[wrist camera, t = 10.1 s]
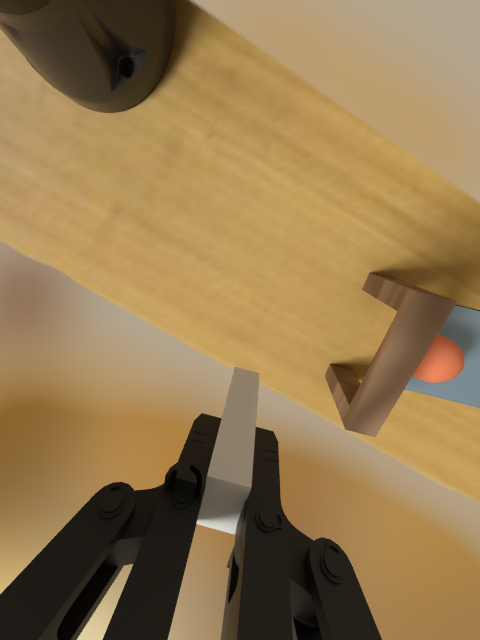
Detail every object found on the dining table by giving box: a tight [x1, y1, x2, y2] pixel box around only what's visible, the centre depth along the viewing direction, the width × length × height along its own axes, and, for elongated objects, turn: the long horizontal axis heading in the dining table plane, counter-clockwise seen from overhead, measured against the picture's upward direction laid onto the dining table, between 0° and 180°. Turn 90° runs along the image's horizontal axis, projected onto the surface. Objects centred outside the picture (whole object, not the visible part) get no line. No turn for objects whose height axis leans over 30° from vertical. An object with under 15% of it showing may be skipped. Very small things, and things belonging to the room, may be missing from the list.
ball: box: [413, 334, 465, 383], centre depth 26 cm, size 6×6×6 cm
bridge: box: [325, 273, 457, 437], centre depth 24 cm, size 3×14×9 cm, turn 168°
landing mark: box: [405, 305, 480, 408], centre depth 28 cm, size 12×12×1 cm
